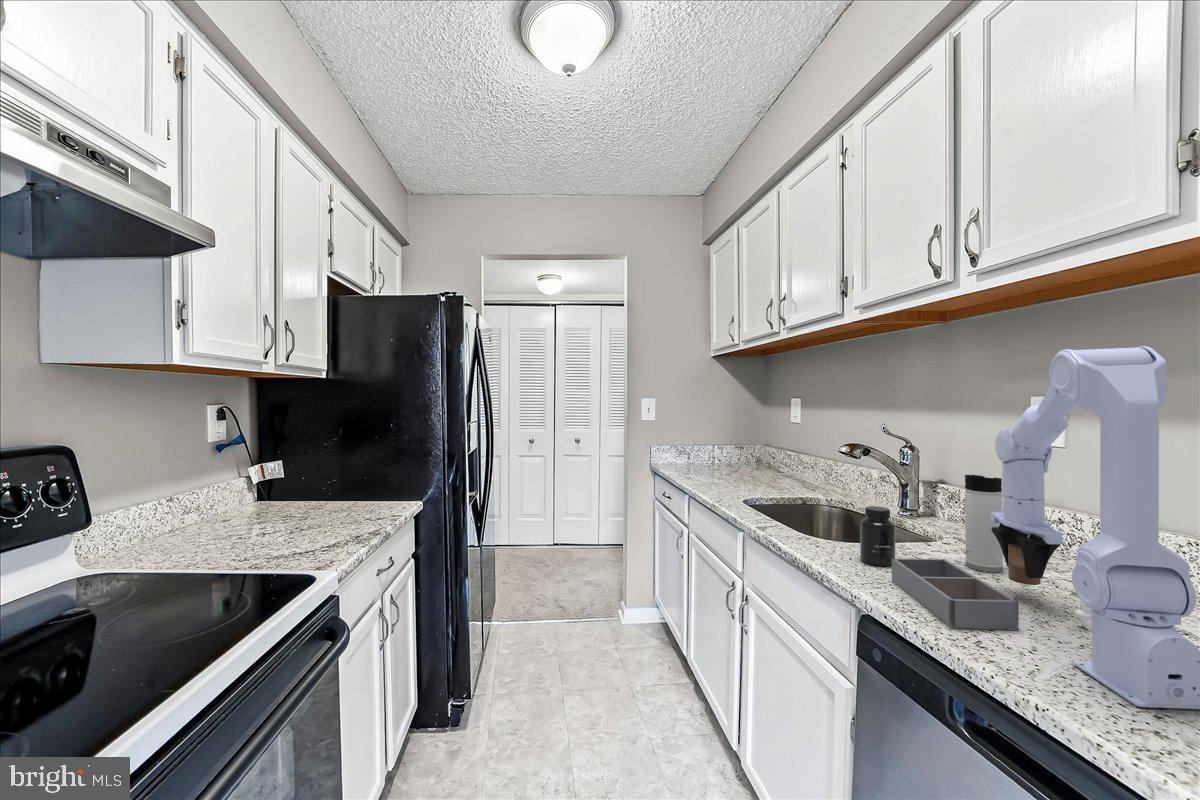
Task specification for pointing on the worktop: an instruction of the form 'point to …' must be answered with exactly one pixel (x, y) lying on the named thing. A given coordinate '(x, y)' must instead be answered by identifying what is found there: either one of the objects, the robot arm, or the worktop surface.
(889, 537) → the supplement bottle
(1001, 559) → the travel mug
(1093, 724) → the worktop surface
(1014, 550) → the walnut cylinder
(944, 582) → the organiser
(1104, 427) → the robot arm
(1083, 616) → the marshmallow
